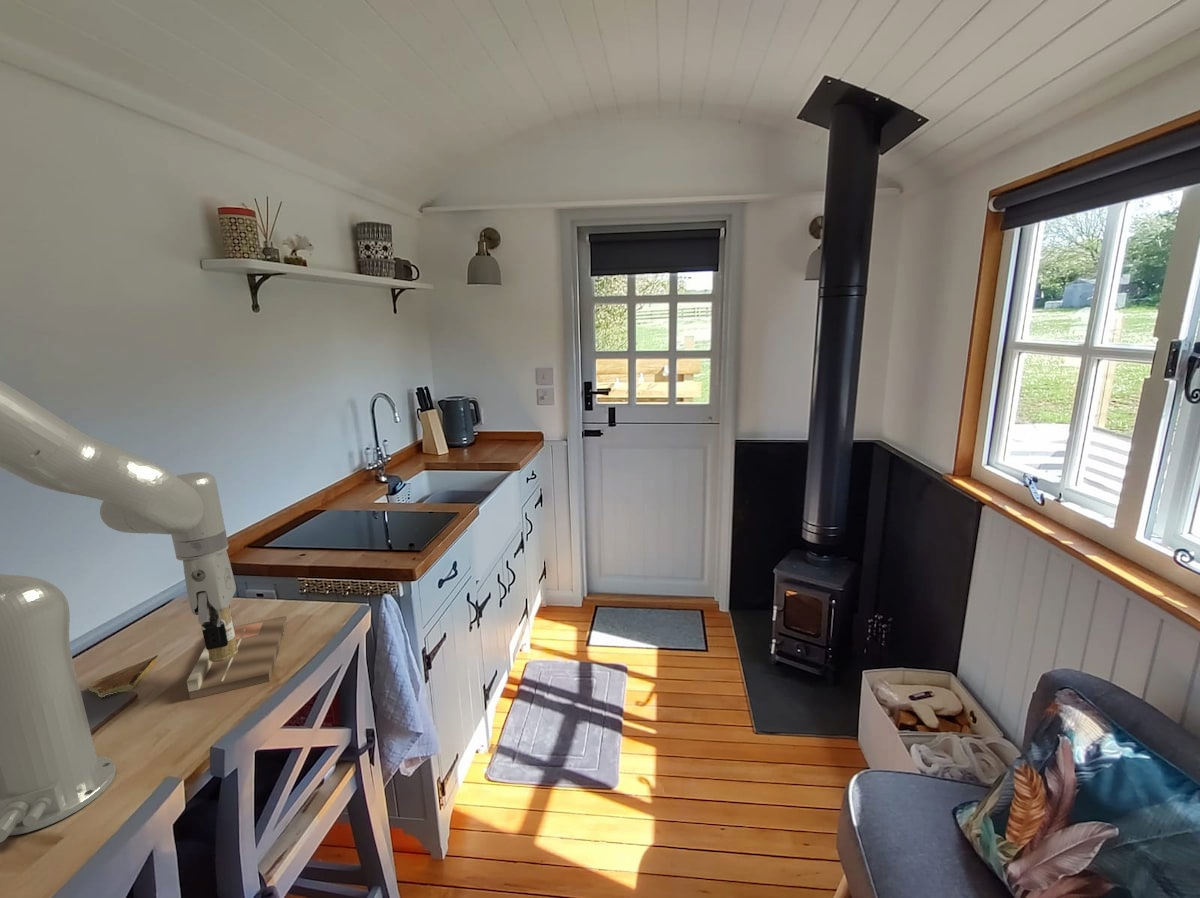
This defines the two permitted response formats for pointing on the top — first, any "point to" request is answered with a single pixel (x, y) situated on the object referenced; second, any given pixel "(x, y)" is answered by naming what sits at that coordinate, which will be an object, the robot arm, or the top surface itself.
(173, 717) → the top surface
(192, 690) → the guide board
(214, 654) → the sprinkles bottle
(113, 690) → the shard
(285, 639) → the top surface
